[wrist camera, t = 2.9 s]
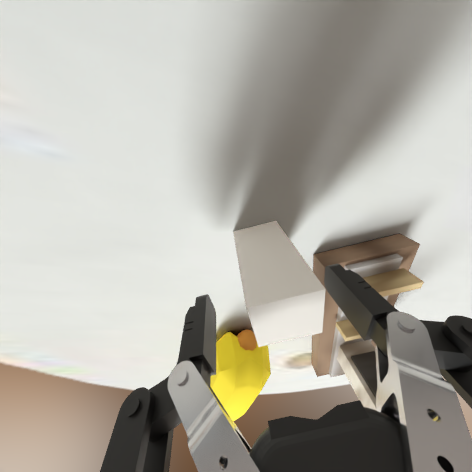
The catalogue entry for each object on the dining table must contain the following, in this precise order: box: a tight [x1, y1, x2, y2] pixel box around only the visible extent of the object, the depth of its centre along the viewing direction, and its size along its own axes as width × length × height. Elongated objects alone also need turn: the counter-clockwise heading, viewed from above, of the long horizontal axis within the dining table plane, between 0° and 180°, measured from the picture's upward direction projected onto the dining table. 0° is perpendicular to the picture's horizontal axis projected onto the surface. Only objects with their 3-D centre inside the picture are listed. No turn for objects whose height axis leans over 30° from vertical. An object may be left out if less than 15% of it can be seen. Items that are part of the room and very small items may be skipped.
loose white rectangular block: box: [233, 221, 326, 347], centre depth 13 cm, size 4×4×8 cm
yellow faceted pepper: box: [210, 329, 271, 421], centre depth 24 cm, size 18×7×8 cm
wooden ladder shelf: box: [312, 234, 423, 410], centre depth 19 cm, size 9×26×11 cm, turn 13°
